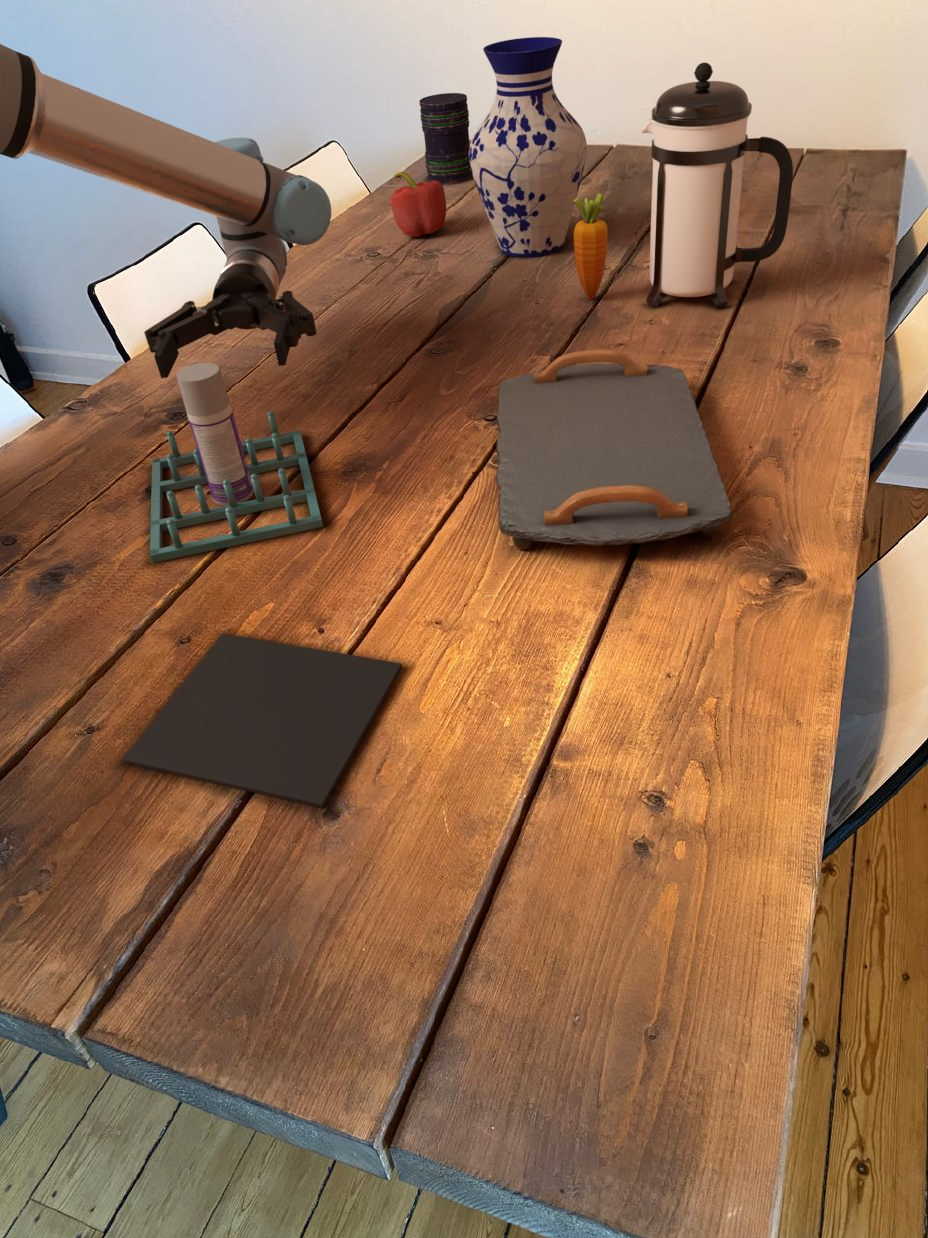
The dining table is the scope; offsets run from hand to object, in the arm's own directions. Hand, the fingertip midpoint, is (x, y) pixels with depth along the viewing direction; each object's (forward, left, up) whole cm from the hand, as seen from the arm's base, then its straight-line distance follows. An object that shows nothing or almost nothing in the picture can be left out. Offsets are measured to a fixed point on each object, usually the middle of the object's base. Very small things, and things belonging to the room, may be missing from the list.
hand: (220, 360), depth 107 cm
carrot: (+27, +54, -12) cm, 61 cm away
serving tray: (+42, +9, -12) cm, 44 cm away
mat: (+27, -37, -12) cm, 48 cm away
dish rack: (+4, -8, -12) cm, 15 cm away
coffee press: (+42, +59, -12) cm, 73 cm away
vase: (+10, +75, -12) cm, 76 cm away
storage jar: (-22, +113, -12) cm, 115 cm away
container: (+4, -8, -12) cm, 15 cm away
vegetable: (-13, +79, -12) cm, 81 cm away
